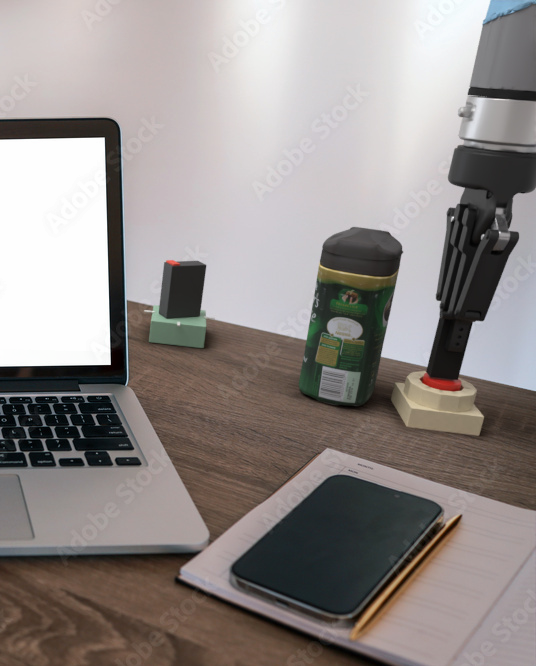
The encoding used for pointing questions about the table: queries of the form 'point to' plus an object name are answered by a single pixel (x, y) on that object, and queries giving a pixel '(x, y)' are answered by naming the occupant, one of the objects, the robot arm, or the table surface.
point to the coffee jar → (350, 315)
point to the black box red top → (182, 289)
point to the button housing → (437, 406)
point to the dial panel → (178, 329)
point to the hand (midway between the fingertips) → (441, 375)
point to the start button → (442, 383)
